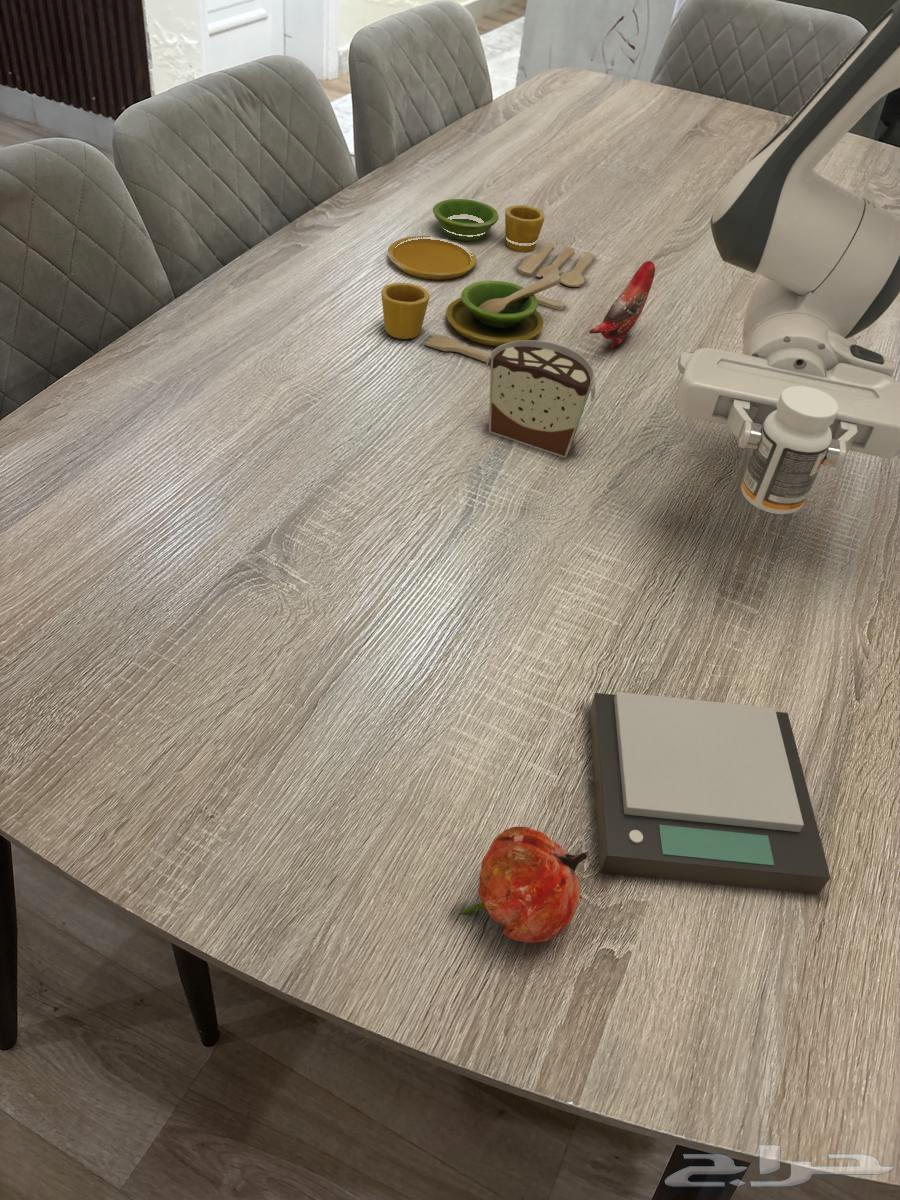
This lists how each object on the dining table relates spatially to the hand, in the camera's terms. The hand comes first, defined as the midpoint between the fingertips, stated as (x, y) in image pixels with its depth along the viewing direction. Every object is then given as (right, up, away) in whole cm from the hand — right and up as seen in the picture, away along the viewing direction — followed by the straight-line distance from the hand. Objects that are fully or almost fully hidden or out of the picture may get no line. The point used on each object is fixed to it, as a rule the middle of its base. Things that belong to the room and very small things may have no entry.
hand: (792, 451), depth 79 cm
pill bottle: (0, -4, +5) cm, 6 cm away
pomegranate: (-24, -34, -14) cm, 44 cm away
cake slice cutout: (-19, +6, +29) cm, 35 cm away
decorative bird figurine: (-8, +20, +44) cm, 49 cm away
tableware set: (-26, +32, +54) cm, 68 cm away
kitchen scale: (-10, -28, -6) cm, 30 cm away
